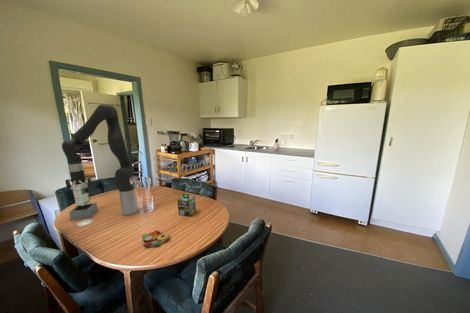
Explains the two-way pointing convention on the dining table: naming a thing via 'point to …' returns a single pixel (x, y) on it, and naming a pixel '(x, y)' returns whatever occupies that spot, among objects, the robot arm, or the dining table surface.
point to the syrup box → (80, 194)
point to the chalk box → (186, 205)
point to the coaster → (84, 222)
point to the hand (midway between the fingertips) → (81, 193)
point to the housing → (83, 211)
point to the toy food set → (154, 238)
